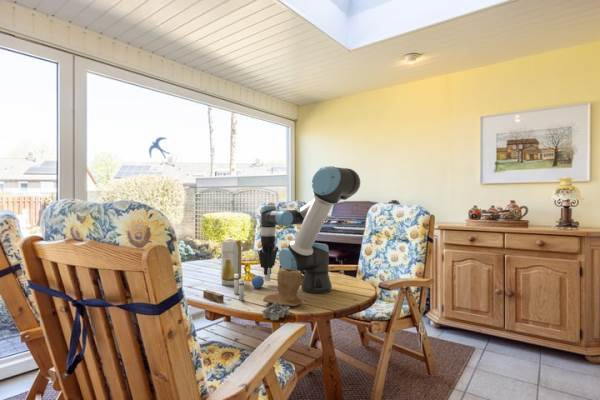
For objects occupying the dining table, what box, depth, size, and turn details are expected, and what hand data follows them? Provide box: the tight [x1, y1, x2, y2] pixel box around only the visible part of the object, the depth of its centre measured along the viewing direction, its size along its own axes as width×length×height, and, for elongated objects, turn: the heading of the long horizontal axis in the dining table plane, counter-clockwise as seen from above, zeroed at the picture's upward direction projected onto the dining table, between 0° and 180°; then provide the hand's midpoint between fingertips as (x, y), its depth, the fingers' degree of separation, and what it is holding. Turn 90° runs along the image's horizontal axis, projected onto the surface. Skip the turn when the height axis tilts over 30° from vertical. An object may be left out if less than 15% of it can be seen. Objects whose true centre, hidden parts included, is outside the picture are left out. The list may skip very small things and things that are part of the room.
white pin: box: [233, 274, 239, 295], centre depth 155 cm, size 2×2×9 cm
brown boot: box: [262, 268, 303, 307], centre depth 141 cm, size 15×12×15 cm
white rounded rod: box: [238, 278, 245, 302], centre depth 145 cm, size 2×2×9 cm
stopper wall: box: [202, 289, 225, 304], centre depth 146 cm, size 12×2×3 cm, turn 50°
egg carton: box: [261, 301, 291, 321], centre depth 127 cm, size 11×8×4 cm
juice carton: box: [220, 237, 242, 286], centre depth 173 cm, size 9×8×24 cm
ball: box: [251, 275, 265, 289], centre depth 166 cm, size 6×6×6 cm
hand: (267, 280), depth 172 cm, fingers closed
